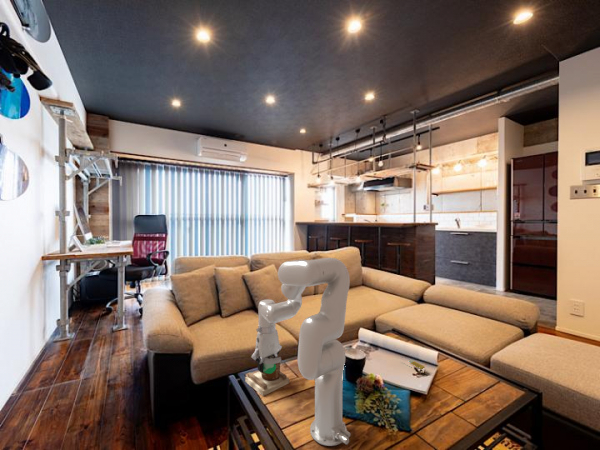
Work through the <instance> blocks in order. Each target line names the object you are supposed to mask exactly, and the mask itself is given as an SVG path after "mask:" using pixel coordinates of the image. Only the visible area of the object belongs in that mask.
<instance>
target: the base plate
mask: <svg viewBox="0 0 600 450" xmlns="http://www.w3.org/2000/svg"><path fill="white" fill-rule="evenodd" d="M244 380H245V381H244V382H245V383H246V384H247V385H249V386H250V387H251V388H252V389H254V390H255V391H256V392H257V393H258V394H259V395H261V396H262V397H264V396H266V395H268V394H270V393H272V392H274V391H276V390H278V389H280V388H282V387H284V386H287V385H288V384H290V378H289V377H287V375H286V374H285V373H284V372H282V371H280V377H279V379H277V380H273V381H268V380H265V379H263V378H262V375H261V372H260V371H256V372H254V373H253V372H248V373H247V376H245V377H244Z"/></svg>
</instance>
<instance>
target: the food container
mask: <svg viewBox="0 0 600 450" xmlns="http://www.w3.org/2000/svg"><path fill="white" fill-rule="evenodd" d="M260 358H261V357H260ZM262 363H263V373H261V375H262V378H263V379H265V380H268V381H273V380H277V379H279V377H280V372H281V363H282V357H281V356H278V357H276V356H274V355H270V356H268V357H265V358H263V361H262Z"/></svg>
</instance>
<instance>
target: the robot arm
mask: <svg viewBox="0 0 600 450" xmlns="http://www.w3.org/2000/svg"><path fill="white" fill-rule="evenodd" d="M277 277H278V280H279V282H280V283H281V287H280V288H281V289H280V290H281V293H282V295H283V296H284V297H285V298H287V300H286V301H281V302H277V303H276V302H275V300H273V299H262V300H260V301H259V303H258V309H257V310H258V311H257V312H258V327H257V328H256V329H255V330H256V332H257V334H256V339H255V350H254V352H253V353H252V354H251V356H250V357H251V358H252V359H253V360H254V361H255V362H257V370H258V371H260V372H261V373H263V363H262V361H263V358H265V357H268V356H270V355H274V356H276V357H279V356H278V355H279V354H280V351H281V349H282V348H283V346H282V345H281V344H280V340H279V333H278V330H277V328H276V325H277V324H276V323H280V322H283V321H287V320H290V319H292V318H293V317H295V316H296V315H297V314H298V312H299V310H300V309H301V307H302V303H303V297H302V294H303V293H304V291H305V289H306V287H313V286H319V285H324V284H327V285H326V288H324V289H325V290H324V291H323V293H322V296H321V301H320V309H319V312H318V313H316V314H313V315H312V314H311V315H310V316H307V318H305V319H304V320H303V321H302V323H301V325H300V328H299V335H298V346H297V347H298V348H297V366H298V370H299V372H300V374H301V376H302V377H303V378H304V379H306V380H309V381H313V380H314V420H313V421H312V422H311V424H310V428H309V430H310V431H309V433H310V435H311V437H312V439H313V440H314V442H315V441H316V442H317V443H318V444H320V445H322V446H326V447H327V446H328V447H333V446H337V445H340V444H345V445H349V443H350V437H351V432H349V431H348V429H347V427H346V422H345V421H343V387H344V386H343V384H344V383H343V382H344V381H343V370H344V365H345V363H346V350H345V347H344V345H343V343H341V342H340V341H339V340H338V339H339V338H340V337H341V336H342V335H343V333H344V330H345V325H346V324H345V322H346V313H347V300H348V295H349V291H350V285H351V283H350V282H351V281H350V280H351V279H350V272H349V271H348V267H347V266H346V264H345V263H344V262H343V261H342V260H340V259H338V258H336V257H335V258H334V257H323V258H318V259H308V260H307V259H294V260H287V261H285V262H283V263H281V265H280V266H279V267H278V270H277ZM260 357H261V358H260ZM258 371H257V372H258Z"/></svg>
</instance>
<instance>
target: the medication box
mask: <svg viewBox="0 0 600 450" xmlns="http://www.w3.org/2000/svg"><path fill="white" fill-rule="evenodd" d="M409 359H410V361H408V362H410V363H411V364H413V365H415V366H416V367H418V368H420V369H423V368H425V369H426V367H425V365H423V364H420V363H419V362H416V361H415V360H413V359H411V358H409Z"/></svg>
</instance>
